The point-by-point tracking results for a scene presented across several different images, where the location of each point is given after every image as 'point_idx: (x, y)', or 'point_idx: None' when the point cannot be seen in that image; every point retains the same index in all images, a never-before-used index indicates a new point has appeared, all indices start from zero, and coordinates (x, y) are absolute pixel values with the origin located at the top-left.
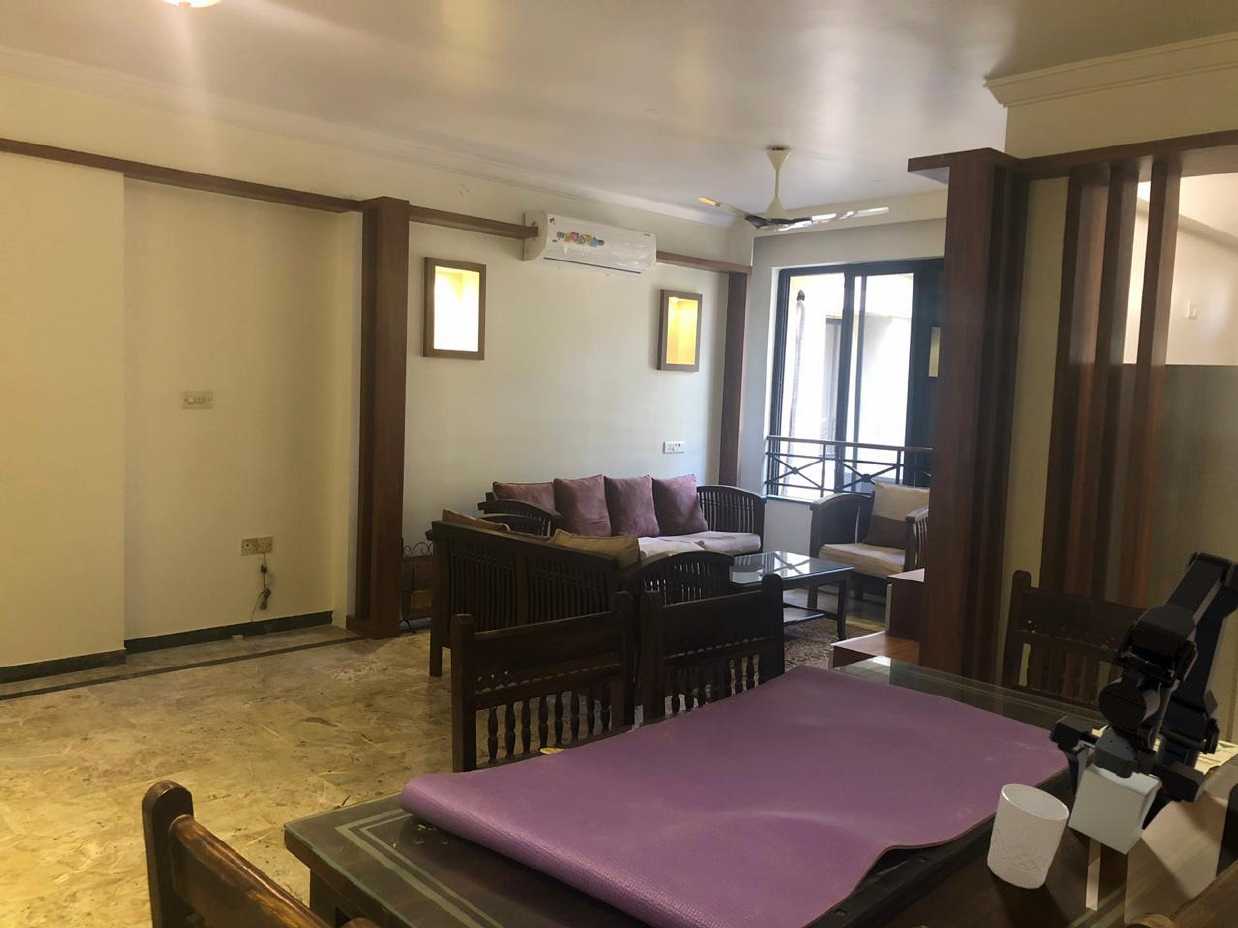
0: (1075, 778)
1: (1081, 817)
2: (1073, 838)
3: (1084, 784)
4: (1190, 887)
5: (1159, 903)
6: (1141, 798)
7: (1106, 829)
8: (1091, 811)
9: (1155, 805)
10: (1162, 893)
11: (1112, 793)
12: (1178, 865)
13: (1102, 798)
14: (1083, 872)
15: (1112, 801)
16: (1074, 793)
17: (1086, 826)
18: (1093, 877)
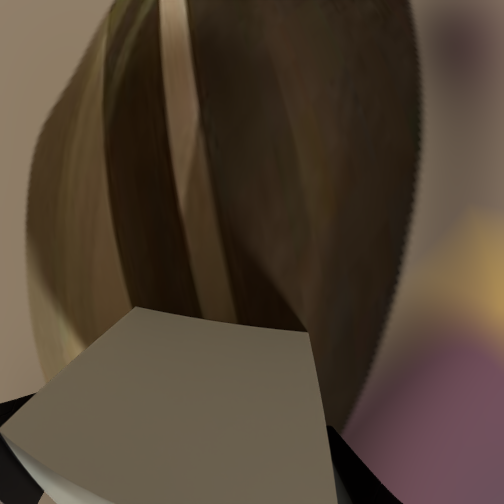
0: (352, 477)
1: (276, 354)
2: (276, 260)
3: (309, 462)
4: (28, 275)
5: (48, 126)
6: (12, 425)
7: (183, 340)
8: (244, 376)
9: (3, 415)
10: (46, 181)
11: (143, 454)
12: (66, 354)
13: (199, 427)
14: (203, 64)
15: (147, 420)
16: (327, 432)
17: (252, 339)
18: (175, 67)
